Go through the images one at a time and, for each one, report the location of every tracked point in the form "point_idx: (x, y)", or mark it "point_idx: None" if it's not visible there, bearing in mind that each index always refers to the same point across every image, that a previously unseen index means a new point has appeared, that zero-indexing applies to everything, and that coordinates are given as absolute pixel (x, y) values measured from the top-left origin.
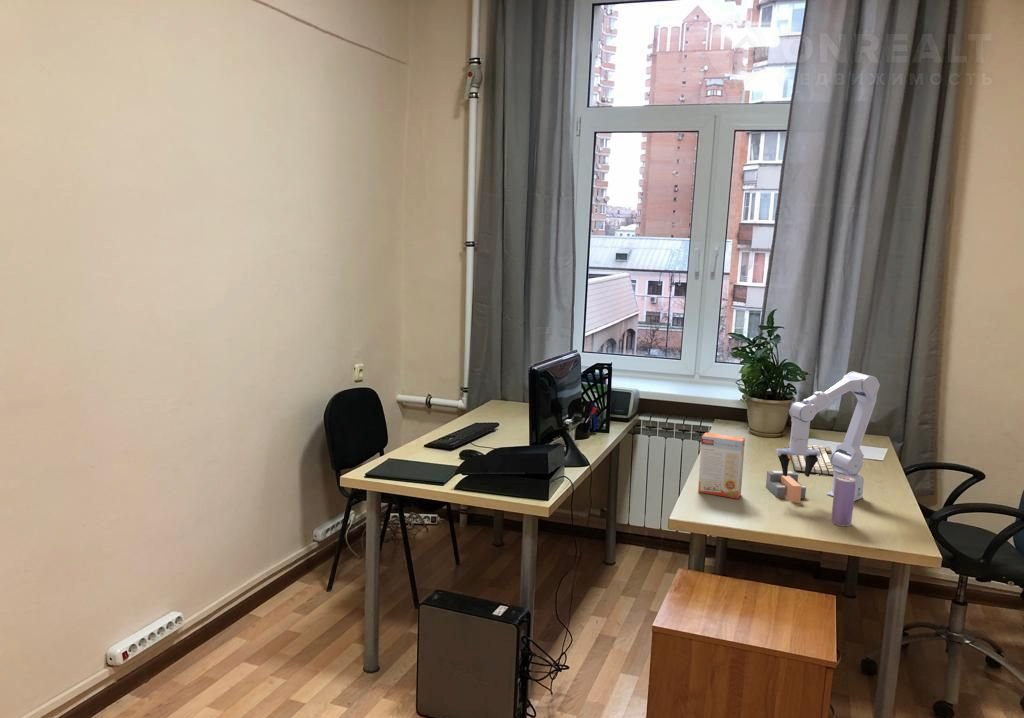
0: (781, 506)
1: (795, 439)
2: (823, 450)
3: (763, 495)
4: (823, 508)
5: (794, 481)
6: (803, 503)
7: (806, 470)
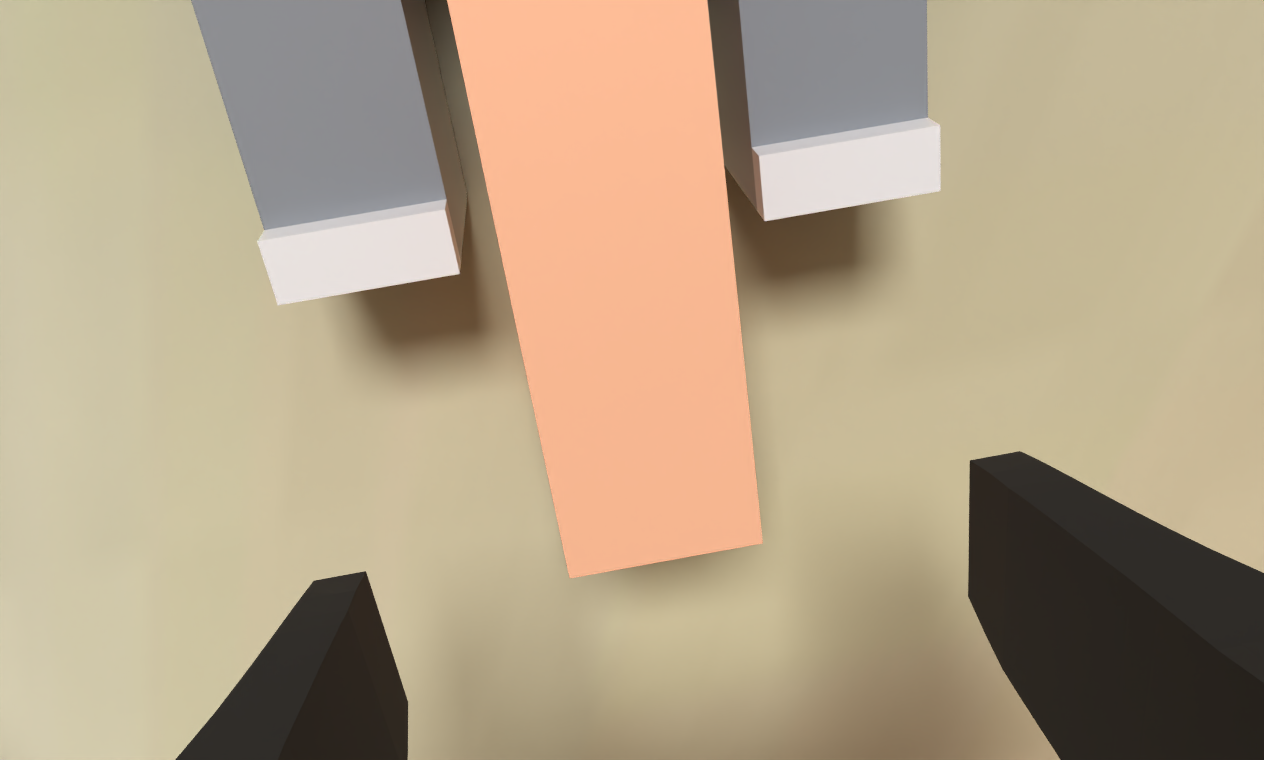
0: None
1: None
2: None
3: (59, 157)
4: None
5: (687, 261)
6: None
7: (1050, 623)
